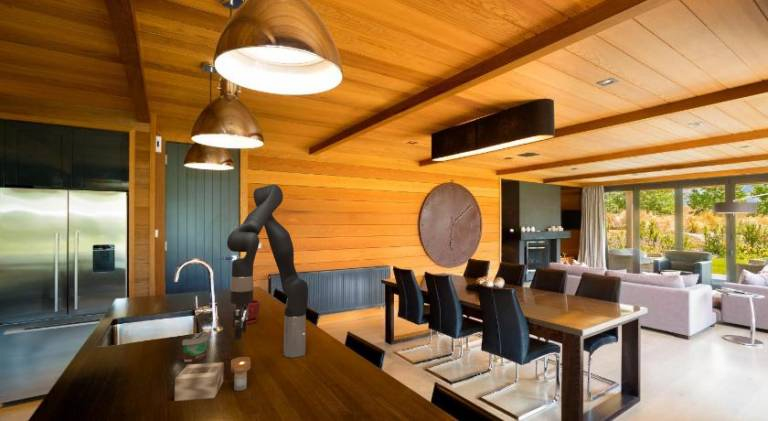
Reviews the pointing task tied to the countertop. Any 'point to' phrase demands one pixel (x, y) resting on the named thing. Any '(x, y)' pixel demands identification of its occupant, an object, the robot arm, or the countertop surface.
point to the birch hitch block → (199, 381)
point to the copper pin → (240, 372)
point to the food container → (195, 348)
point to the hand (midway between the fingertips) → (240, 335)
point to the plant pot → (253, 311)
